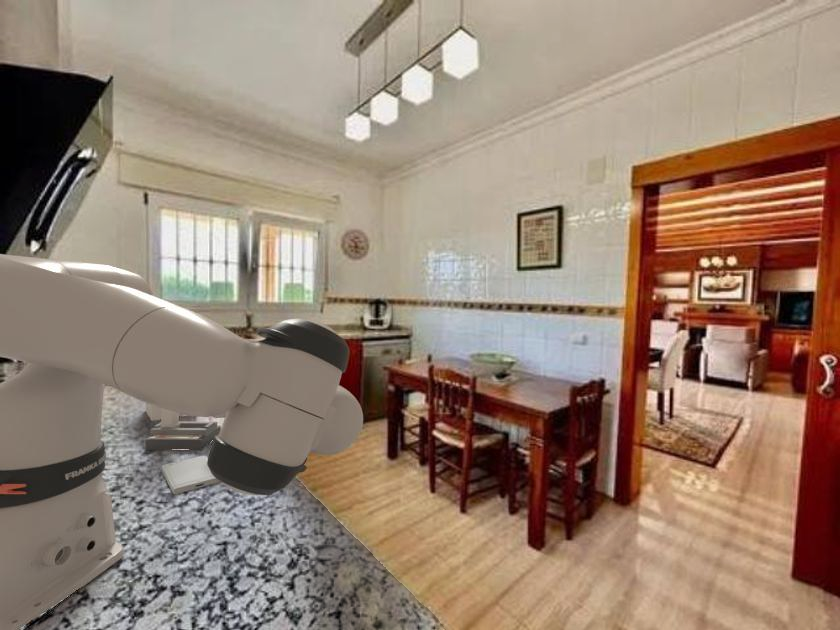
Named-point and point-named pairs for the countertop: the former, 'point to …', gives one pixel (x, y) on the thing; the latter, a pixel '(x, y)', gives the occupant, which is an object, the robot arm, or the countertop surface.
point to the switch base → (182, 436)
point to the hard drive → (188, 474)
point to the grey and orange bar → (169, 419)
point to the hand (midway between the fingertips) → (208, 398)
